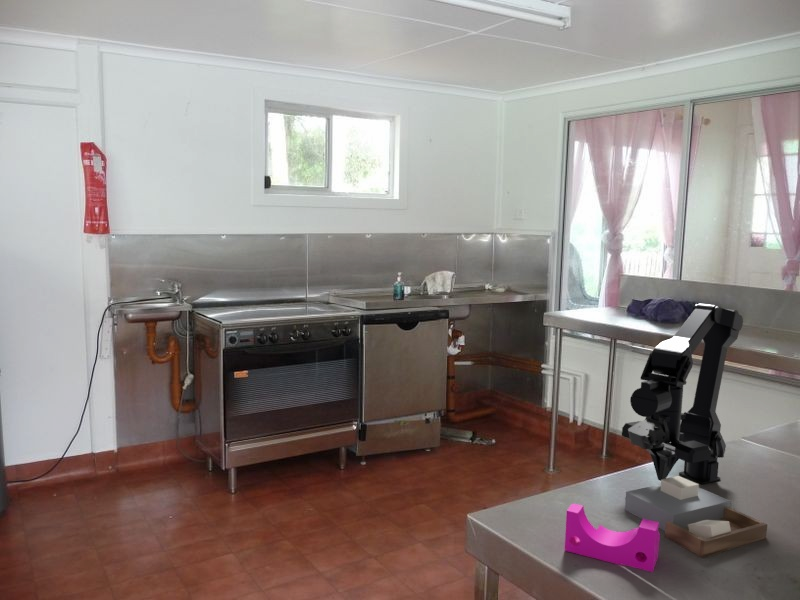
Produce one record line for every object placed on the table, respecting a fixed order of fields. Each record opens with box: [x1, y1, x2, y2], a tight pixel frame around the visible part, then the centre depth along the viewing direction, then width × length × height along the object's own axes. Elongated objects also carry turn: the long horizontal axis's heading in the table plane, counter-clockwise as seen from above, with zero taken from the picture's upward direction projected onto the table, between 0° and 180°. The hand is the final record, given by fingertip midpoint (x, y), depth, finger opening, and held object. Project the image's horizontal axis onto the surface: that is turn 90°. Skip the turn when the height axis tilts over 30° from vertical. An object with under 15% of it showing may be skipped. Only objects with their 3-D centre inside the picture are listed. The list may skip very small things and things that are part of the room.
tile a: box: [688, 520, 731, 539], centre depth 125 cm, size 5×5×2 cm
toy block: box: [564, 503, 661, 573], centre depth 121 cm, size 15×6×8 cm, turn 61°
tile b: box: [660, 475, 700, 500], centre depth 138 cm, size 5×5×2 cm
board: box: [624, 483, 732, 532], centre depth 137 cm, size 12×16×4 cm
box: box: [664, 507, 768, 559], centre depth 127 cm, size 9×17×3 cm, turn 117°
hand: (661, 480), depth 142 cm, fingers closed
